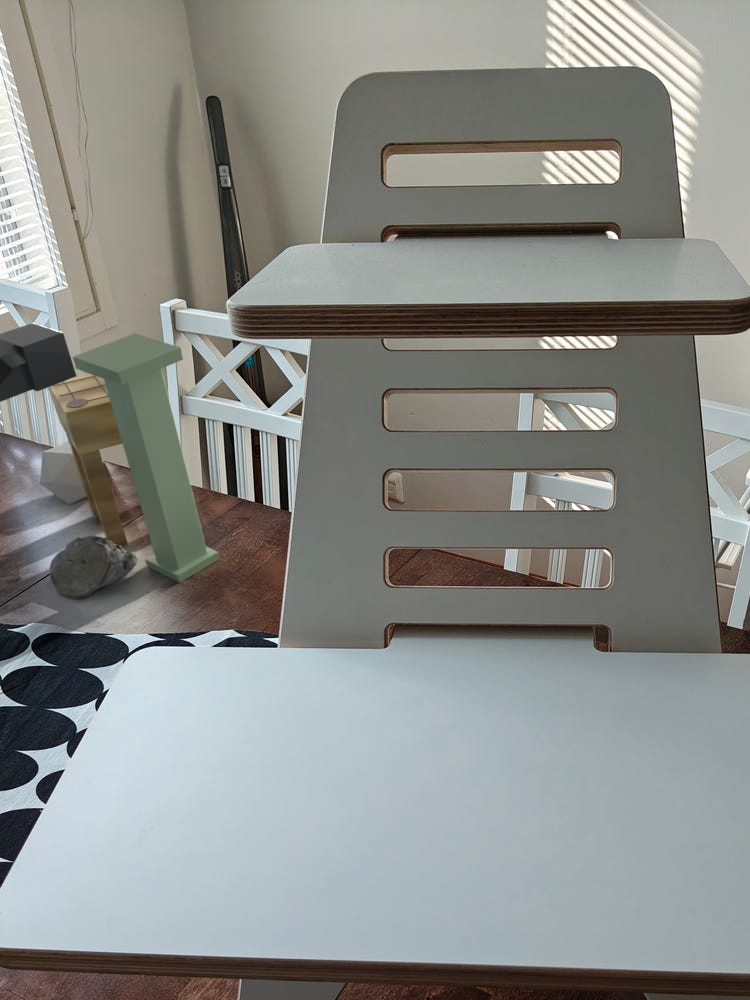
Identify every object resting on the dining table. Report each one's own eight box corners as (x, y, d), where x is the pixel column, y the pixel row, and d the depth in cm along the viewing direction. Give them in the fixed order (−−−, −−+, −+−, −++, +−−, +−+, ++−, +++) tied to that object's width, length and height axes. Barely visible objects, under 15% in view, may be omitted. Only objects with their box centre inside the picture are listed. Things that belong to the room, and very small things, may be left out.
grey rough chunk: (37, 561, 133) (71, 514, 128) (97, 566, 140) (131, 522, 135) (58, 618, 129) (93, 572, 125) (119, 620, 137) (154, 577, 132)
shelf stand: (178, 588, 130) (118, 372, 112) (136, 567, 134) (72, 356, 116) (230, 558, 135) (180, 347, 117) (188, 538, 140) (134, 333, 122)
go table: (90, 515, 147) (46, 381, 134) (169, 493, 151) (133, 361, 138) (109, 551, 138) (64, 412, 125) (192, 526, 143) (157, 389, 130)
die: (94, 478, 157) (39, 440, 151) (125, 462, 152) (69, 421, 146) (73, 520, 153) (16, 482, 147) (104, 504, 148) (46, 464, 141)
